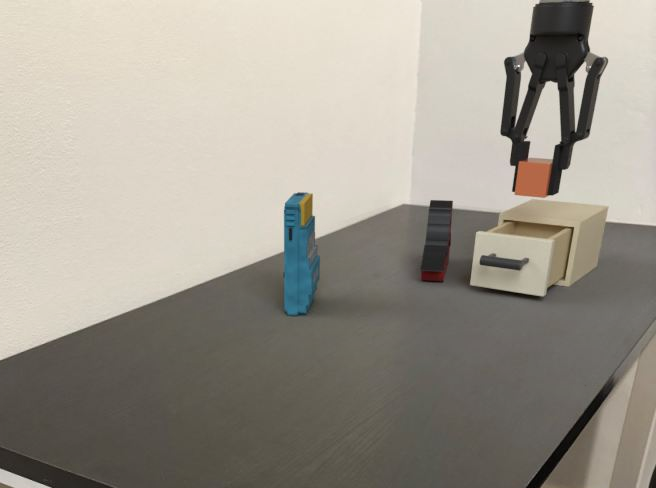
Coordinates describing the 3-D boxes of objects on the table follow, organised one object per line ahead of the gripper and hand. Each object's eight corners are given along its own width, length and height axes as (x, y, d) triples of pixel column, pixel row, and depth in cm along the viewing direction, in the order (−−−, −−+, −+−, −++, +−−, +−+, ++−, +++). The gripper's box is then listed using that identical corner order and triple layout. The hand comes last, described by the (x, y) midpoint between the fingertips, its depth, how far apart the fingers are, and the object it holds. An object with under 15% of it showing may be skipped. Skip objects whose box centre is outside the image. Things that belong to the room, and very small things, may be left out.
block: (555, 193, 115) (560, 159, 113) (544, 198, 112) (550, 163, 110) (525, 190, 117) (530, 157, 115) (514, 195, 114) (518, 161, 112)
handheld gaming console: (293, 296, 120) (292, 191, 112) (319, 297, 120) (321, 192, 112) (281, 316, 112) (280, 204, 104) (310, 317, 111) (311, 205, 104)
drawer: (533, 304, 112) (542, 247, 108) (458, 291, 118) (464, 237, 114) (572, 275, 124) (582, 224, 120) (503, 266, 130) (509, 216, 126)
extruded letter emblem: (429, 258, 139) (435, 190, 133) (449, 259, 138) (456, 191, 132) (419, 286, 124) (425, 211, 118) (441, 287, 123) (449, 212, 117)
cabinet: (568, 287, 122) (580, 222, 117) (491, 275, 129) (499, 213, 124) (596, 266, 132) (608, 206, 127) (523, 256, 139) (532, 198, 134)
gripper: (488, 2, 104) (467, 190, 116) (626, -2, 95) (588, 202, 108) (509, 3, 109) (487, 183, 122) (642, -1, 101) (604, 193, 113)
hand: (535, 191), depth 115 cm, fingers closed on block, 4 cm apart
